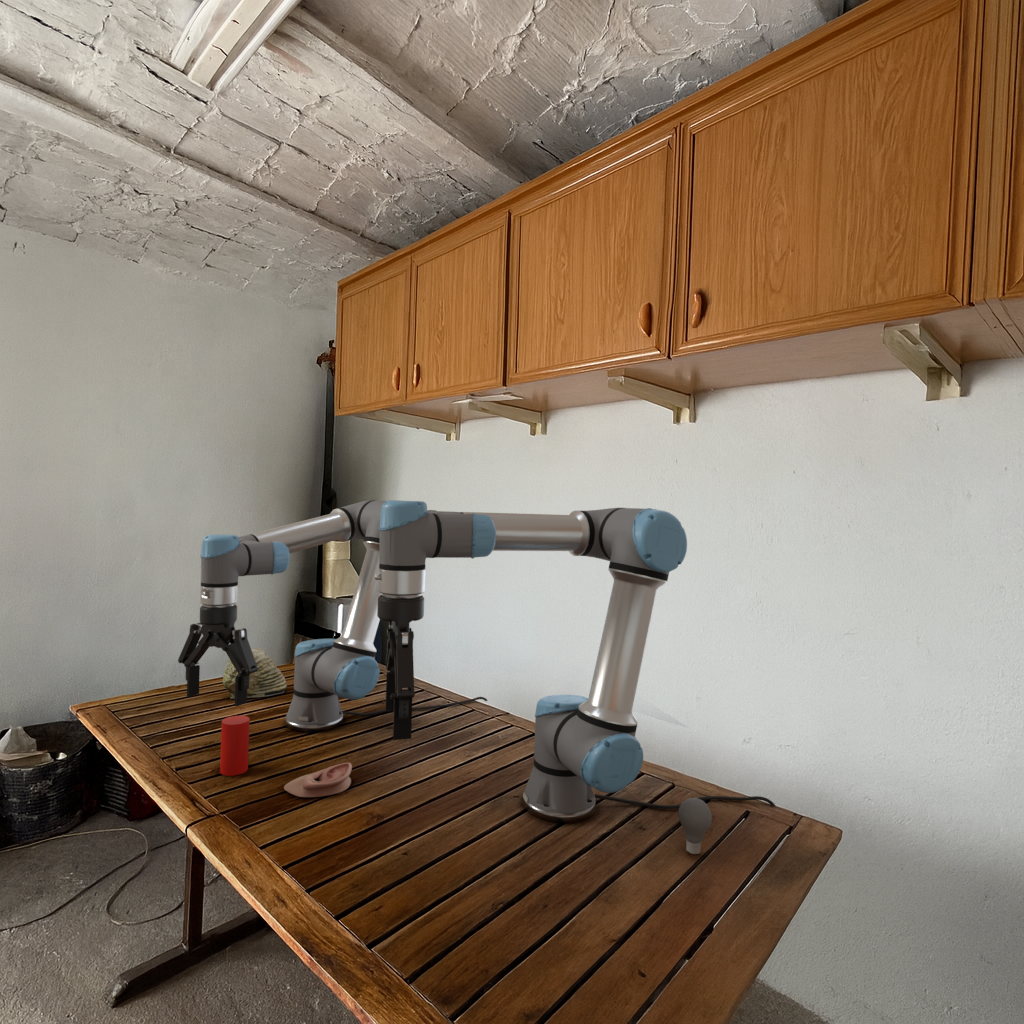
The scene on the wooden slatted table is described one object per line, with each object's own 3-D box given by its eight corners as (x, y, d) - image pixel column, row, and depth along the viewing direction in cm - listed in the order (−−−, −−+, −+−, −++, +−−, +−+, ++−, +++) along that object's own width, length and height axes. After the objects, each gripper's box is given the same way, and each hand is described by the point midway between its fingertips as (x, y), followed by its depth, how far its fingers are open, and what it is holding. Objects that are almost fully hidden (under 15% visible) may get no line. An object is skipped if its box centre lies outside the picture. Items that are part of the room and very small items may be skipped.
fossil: (218, 695, 195) (220, 647, 195) (278, 685, 208) (279, 640, 207) (228, 703, 189) (230, 653, 188) (289, 692, 201) (290, 645, 201)
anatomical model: (276, 775, 134) (304, 754, 145) (275, 793, 134) (304, 771, 145) (334, 783, 131) (358, 761, 142) (333, 802, 131) (357, 779, 142)
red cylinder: (225, 764, 147) (227, 715, 147) (251, 765, 148) (253, 715, 147) (215, 775, 141) (217, 724, 141) (242, 776, 142) (244, 724, 142)
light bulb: (672, 843, 121) (674, 791, 121) (702, 843, 121) (705, 792, 121) (683, 861, 115) (685, 807, 115) (715, 861, 115) (717, 807, 115)
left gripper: (161, 601, 141) (159, 696, 141) (251, 612, 132) (248, 713, 133) (189, 597, 148) (187, 687, 148) (276, 607, 139) (273, 702, 140)
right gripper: (372, 583, 115) (369, 700, 115) (384, 608, 91) (380, 755, 91) (414, 583, 117) (411, 697, 117) (436, 607, 93) (431, 751, 93)
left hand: (216, 699), depth 141 cm, fingers open, 13 cm apart
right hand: (397, 723), depth 104 cm, fingers open, 13 cm apart
